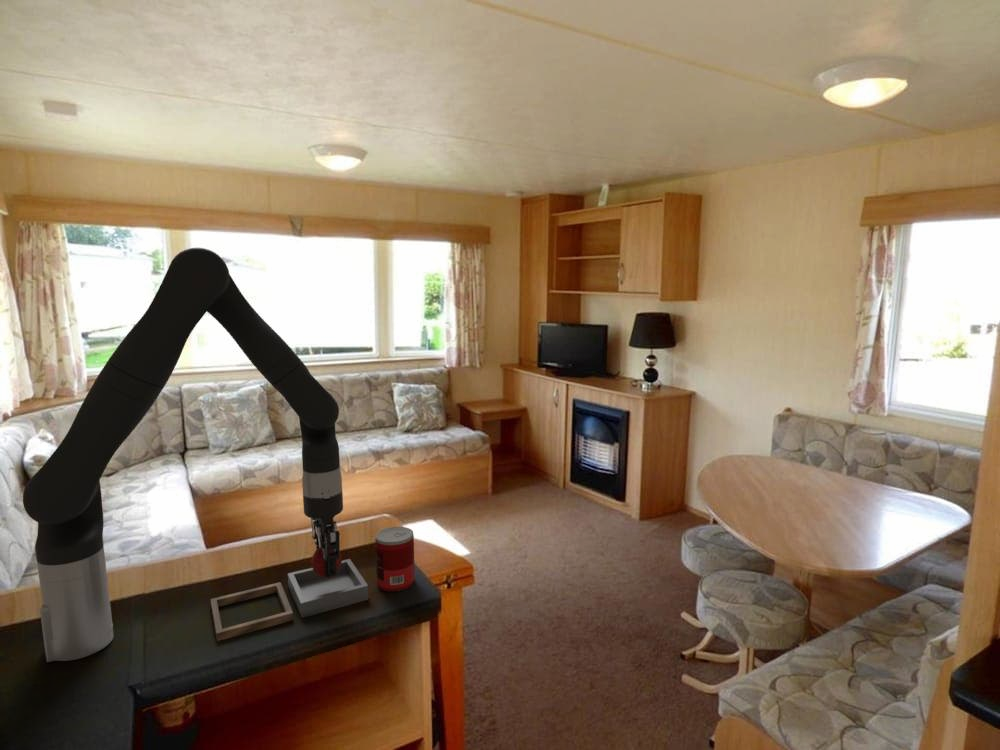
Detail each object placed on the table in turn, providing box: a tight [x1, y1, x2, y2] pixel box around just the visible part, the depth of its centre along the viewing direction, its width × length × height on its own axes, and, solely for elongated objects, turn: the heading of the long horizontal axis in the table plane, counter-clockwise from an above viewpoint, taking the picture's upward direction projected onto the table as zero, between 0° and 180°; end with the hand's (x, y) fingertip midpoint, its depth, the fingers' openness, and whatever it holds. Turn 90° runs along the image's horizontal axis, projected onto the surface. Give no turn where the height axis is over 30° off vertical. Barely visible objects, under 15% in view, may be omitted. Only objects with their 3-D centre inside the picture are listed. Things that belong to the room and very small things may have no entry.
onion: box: [310, 542, 343, 578], centre depth 118 cm, size 6×6×8 cm
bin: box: [287, 558, 370, 618], centre depth 119 cm, size 13×13×3 cm
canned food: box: [374, 526, 415, 592], centre depth 123 cm, size 8×8×11 cm
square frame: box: [210, 581, 294, 642], centre depth 112 cm, size 13×13×2 cm
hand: (326, 568), depth 118 cm, fingers closed on onion, 5 cm apart
